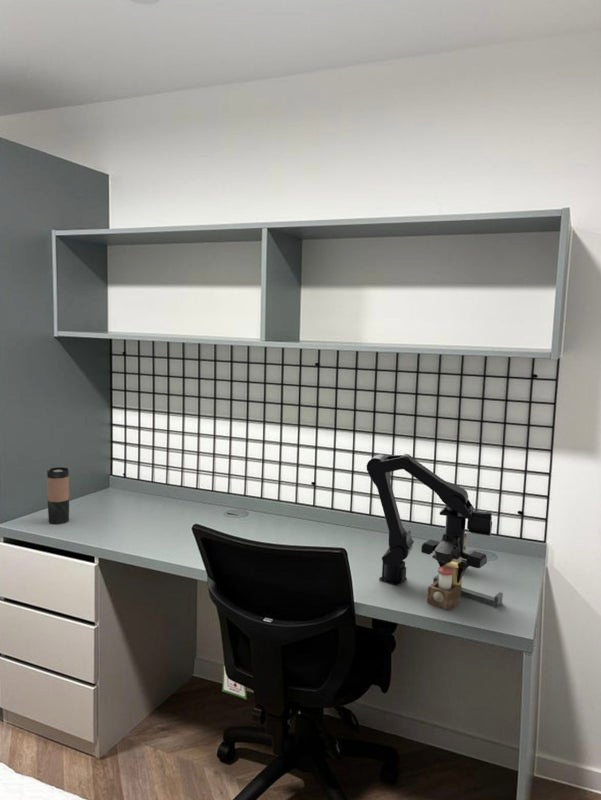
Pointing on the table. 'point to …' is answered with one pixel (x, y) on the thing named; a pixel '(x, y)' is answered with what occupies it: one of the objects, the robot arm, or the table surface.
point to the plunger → (445, 577)
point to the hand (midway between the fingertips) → (451, 580)
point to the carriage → (454, 576)
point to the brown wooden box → (444, 596)
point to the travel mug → (58, 495)
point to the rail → (479, 596)
